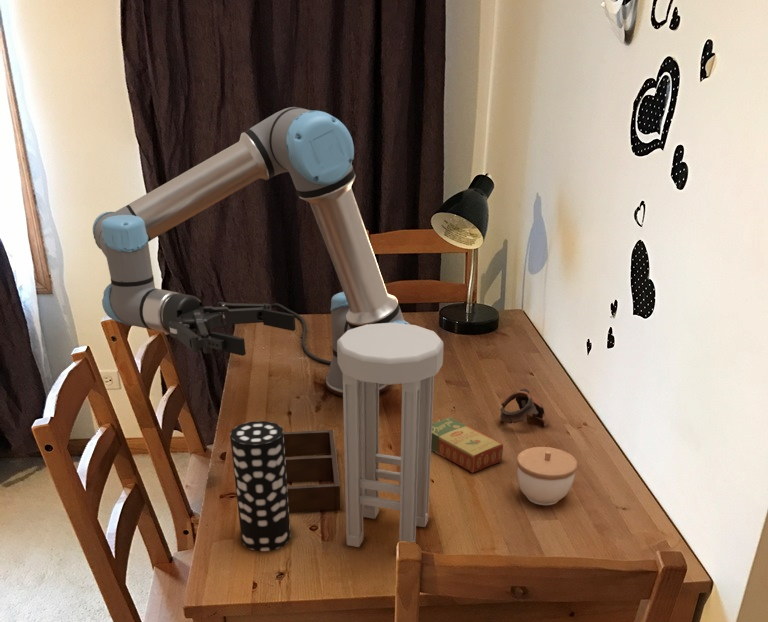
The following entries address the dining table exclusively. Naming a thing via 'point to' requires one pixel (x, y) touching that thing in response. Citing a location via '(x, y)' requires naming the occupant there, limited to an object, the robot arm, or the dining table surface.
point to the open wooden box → (312, 470)
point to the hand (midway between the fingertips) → (269, 334)
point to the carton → (464, 445)
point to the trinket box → (545, 474)
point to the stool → (360, 404)
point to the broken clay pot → (522, 408)
